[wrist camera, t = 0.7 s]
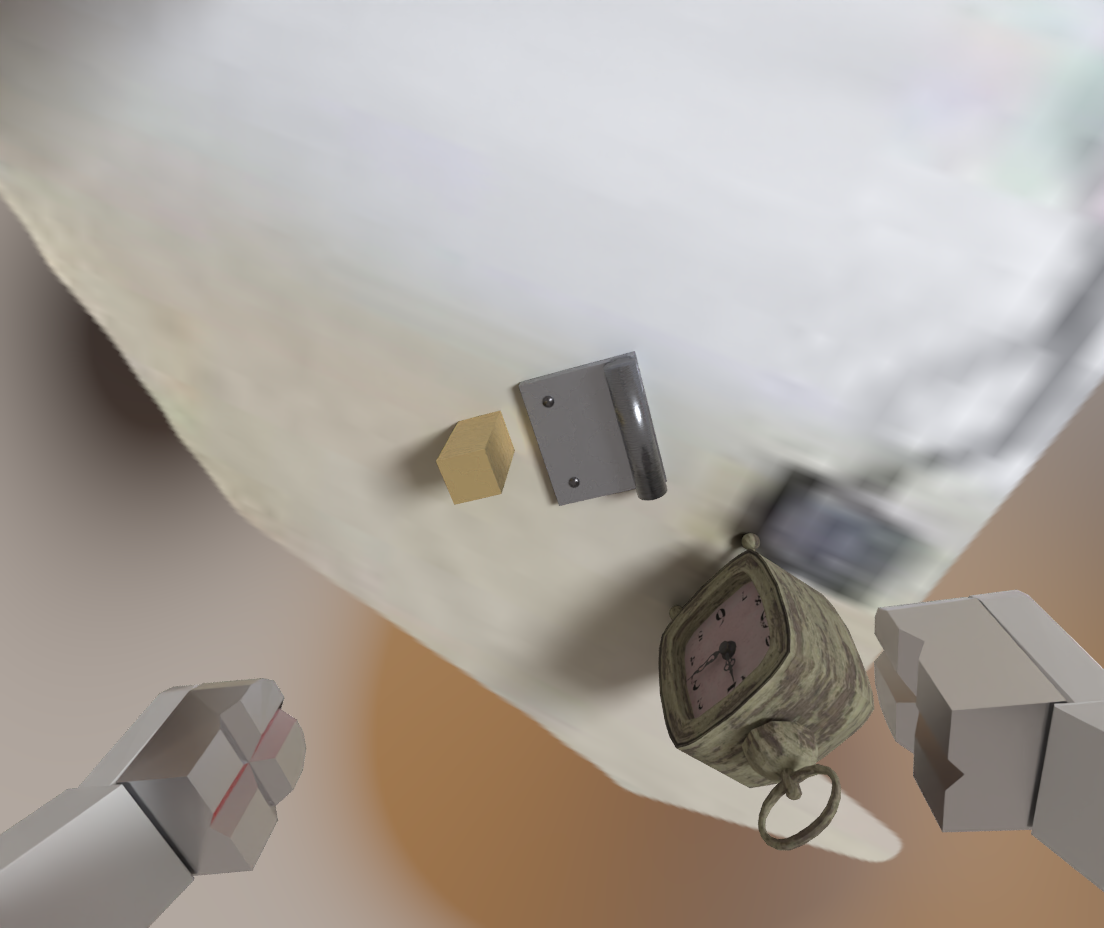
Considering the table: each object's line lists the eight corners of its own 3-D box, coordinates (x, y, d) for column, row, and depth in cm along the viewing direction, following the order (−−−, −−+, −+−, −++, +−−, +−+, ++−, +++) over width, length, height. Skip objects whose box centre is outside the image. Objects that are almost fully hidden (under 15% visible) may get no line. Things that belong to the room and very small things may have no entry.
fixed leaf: (559, 500, 56) (557, 520, 53) (520, 382, 51) (514, 396, 48) (665, 476, 54) (669, 496, 51) (634, 351, 49) (637, 364, 46)
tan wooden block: (473, 461, 55) (454, 505, 48) (458, 421, 53) (435, 461, 46) (514, 451, 54) (501, 494, 47) (500, 410, 53) (484, 449, 46)
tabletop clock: (747, 512, 55) (846, 747, 33) (821, 560, 57) (962, 814, 35) (650, 611, 61) (679, 867, 39) (720, 652, 63) (785, 919, 41)
